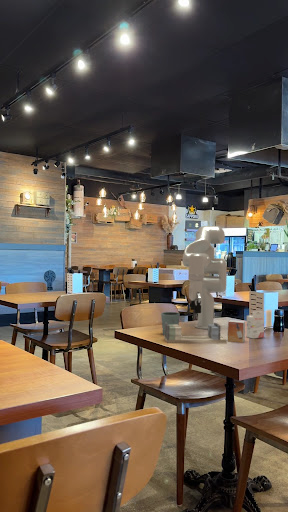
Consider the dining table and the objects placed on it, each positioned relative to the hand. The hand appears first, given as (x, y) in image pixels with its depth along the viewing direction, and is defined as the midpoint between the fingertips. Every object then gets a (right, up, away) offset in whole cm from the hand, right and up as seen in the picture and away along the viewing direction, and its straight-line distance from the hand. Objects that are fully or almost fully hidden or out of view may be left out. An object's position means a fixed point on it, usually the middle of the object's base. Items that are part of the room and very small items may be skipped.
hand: (195, 311), depth 217 cm
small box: (+21, -16, +3) cm, 27 cm away
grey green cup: (-12, -15, +16) cm, 25 cm away
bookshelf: (0, -16, 0) cm, 16 cm away
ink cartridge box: (+34, -16, +15) cm, 41 cm away
